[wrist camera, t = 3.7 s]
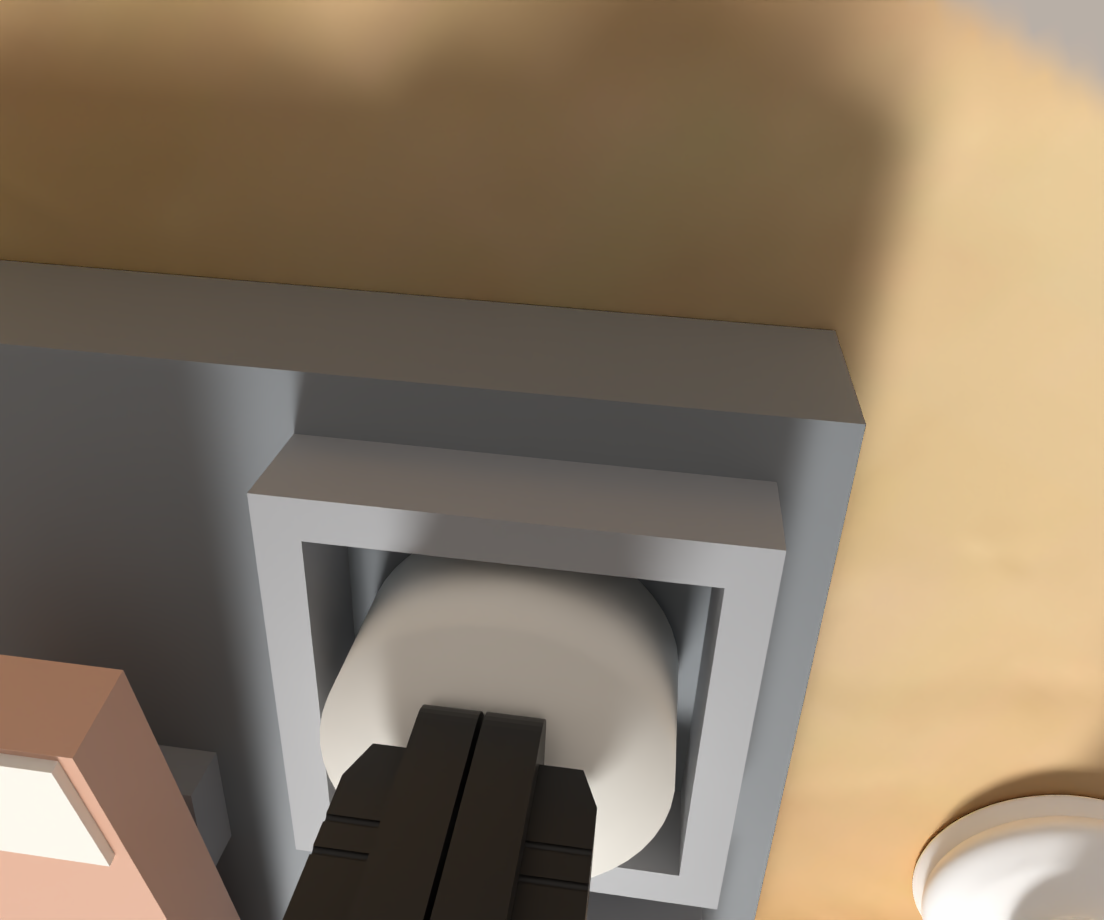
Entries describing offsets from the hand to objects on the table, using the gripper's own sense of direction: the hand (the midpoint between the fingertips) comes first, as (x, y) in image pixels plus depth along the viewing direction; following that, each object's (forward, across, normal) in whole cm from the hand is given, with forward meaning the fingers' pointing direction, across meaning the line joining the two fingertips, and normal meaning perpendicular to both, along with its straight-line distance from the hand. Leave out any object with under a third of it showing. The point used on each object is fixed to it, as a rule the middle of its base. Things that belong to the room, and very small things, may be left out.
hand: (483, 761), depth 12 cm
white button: (+2, 0, 0) cm, 2 cm away
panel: (+5, +3, +4) cm, 7 cm away
